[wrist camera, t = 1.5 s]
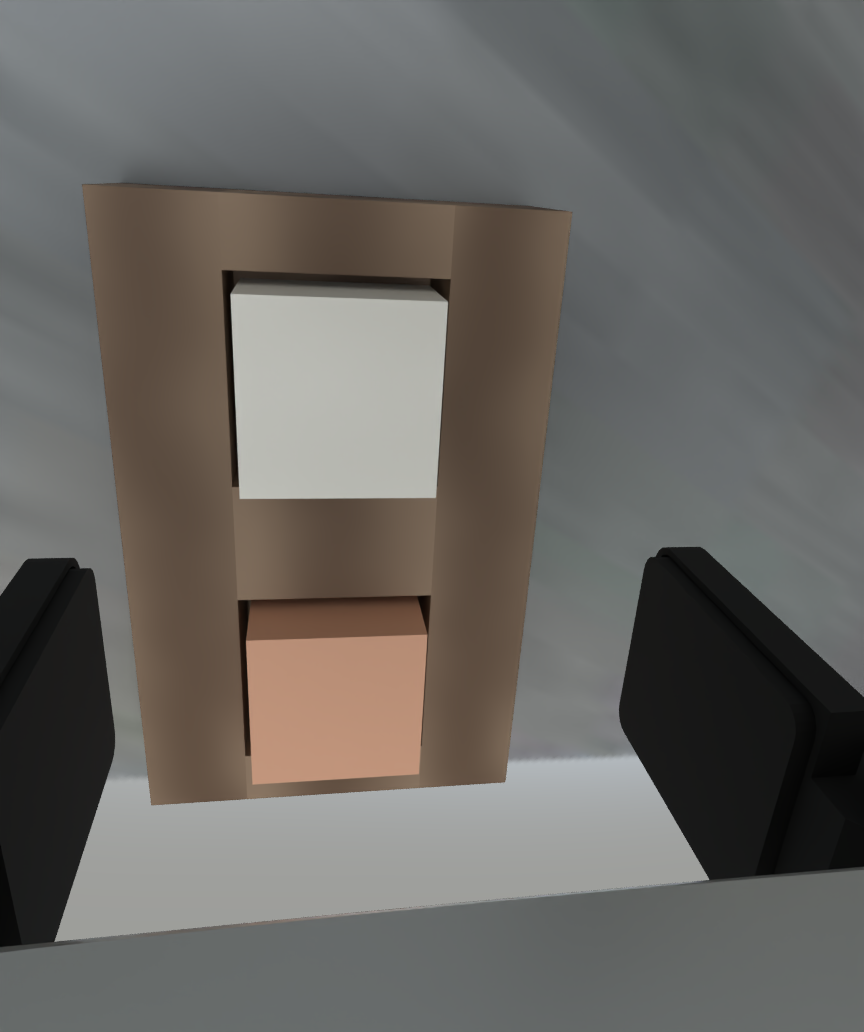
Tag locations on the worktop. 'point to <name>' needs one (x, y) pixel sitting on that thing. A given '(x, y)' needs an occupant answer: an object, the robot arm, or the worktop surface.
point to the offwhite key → (337, 388)
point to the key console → (319, 522)
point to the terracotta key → (335, 687)
